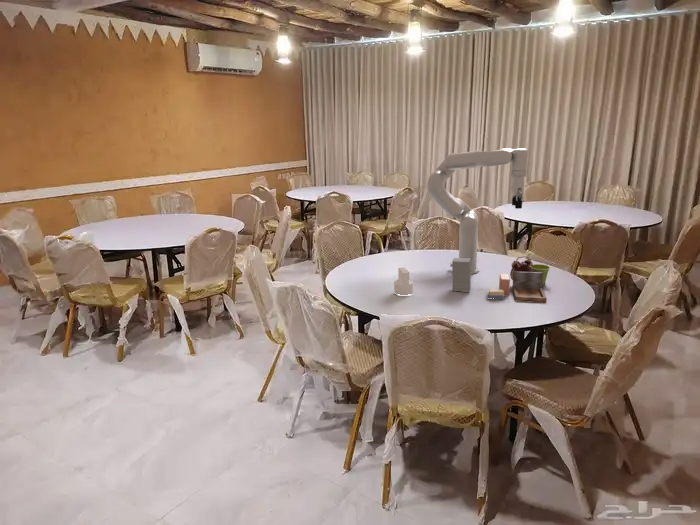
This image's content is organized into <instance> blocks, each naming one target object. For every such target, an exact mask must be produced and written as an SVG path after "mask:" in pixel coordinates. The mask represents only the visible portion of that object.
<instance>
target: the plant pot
mask: <svg viewBox="0 0 700 525" xmlns="http://www.w3.org/2000/svg"><path fill="white" fill-rule="evenodd" d="M530 267H531V266H530ZM531 268H532V269H533V271H534V272H542V273H543V277H542V284H543V285H545V284H546V280H547V278H548V277H547V276H548V273H549V271H550V269H551V266H550V265H546V264H542V263H541V264H539V263H536V264H534V263H533V265H532V267H531Z"/></svg>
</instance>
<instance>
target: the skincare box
mask: <svg viewBox="0 0 700 525" xmlns="http://www.w3.org/2000/svg"><path fill="white" fill-rule="evenodd" d="M451 263H452V271H451V272H452V273H451V274H452V292H453V291H461V292H460V293H470V292H471V291H470V290H471V286H472V284H471V283H472V282H471V281H472V280H471V279H472V277H471V276H472V274H471V258H459V257H454V258H453V259H452V262H451Z"/></svg>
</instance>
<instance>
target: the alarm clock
mask: <svg viewBox="0 0 700 525" xmlns="http://www.w3.org/2000/svg"><path fill="white" fill-rule="evenodd" d="M522 258H523V256H518V257H517V258H516V260H513V262H511V269H510V272H509V274H510V275H509V278H510V280H511V281H513V272H514V271H516V272H534V271H533V269H532V268H531V267H532V265H534V263H533V261H532V259H531V258H529V257H528V256H525V260H524V261H521V262H520V261H518V260H519V259H522ZM526 258H527V259H526ZM530 266H531V267H530Z"/></svg>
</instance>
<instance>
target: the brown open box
mask: <svg viewBox="0 0 700 525" xmlns="http://www.w3.org/2000/svg"><path fill="white" fill-rule="evenodd" d="M542 277H543V273H542V272H516V271H514V272H513V280H512V289H511V290H512V292H513V296H515V297H514V300H515V301H516V300H517V301H516V302H527V301H533V302H532V303H547V302H548V300H547V299H548V298H547V296H546V293H545V291H544V289H543V285H542Z"/></svg>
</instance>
